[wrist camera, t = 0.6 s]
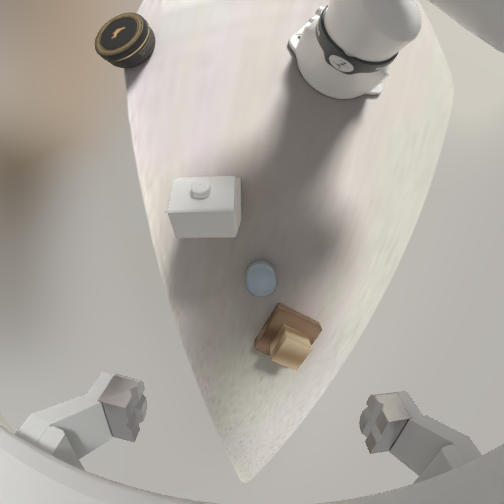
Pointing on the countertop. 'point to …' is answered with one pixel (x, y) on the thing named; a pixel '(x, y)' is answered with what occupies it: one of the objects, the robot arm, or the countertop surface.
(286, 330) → the oak cube
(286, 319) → the walnut pedestal
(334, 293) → the countertop surface
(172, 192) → the milk carton
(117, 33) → the jar
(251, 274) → the ceramic cylinder
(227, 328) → the countertop surface
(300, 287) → the countertop surface
